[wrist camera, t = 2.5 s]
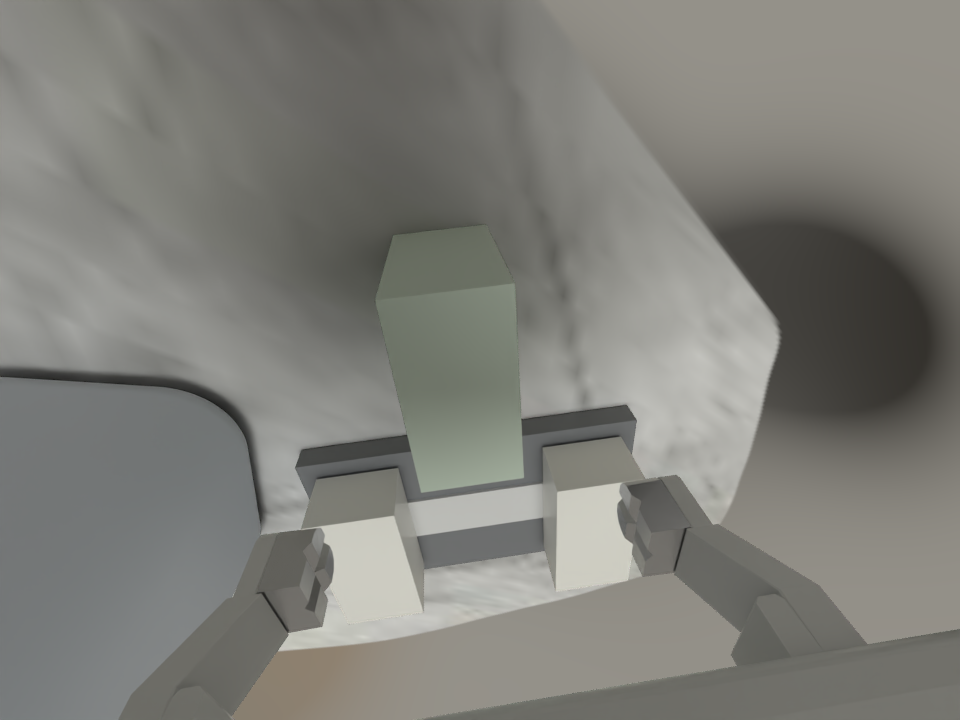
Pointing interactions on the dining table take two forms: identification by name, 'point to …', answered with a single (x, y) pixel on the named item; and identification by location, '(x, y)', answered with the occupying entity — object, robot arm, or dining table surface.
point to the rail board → (472, 512)
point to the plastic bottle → (111, 537)
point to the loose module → (454, 355)
